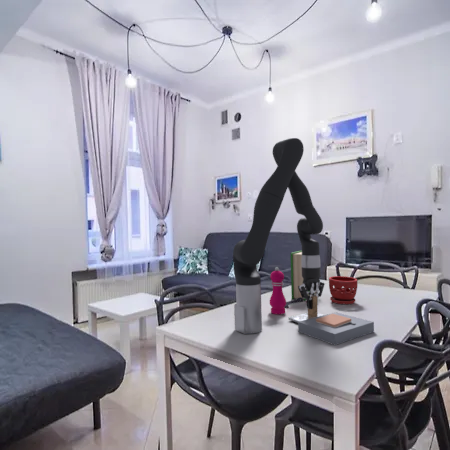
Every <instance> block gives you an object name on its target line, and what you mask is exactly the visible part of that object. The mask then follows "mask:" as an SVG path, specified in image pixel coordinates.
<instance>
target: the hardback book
mask: <svg viewBox="0 0 450 450" xmlns="http://www.w3.org/2000/svg"><path fill="white" fill-rule="evenodd" d="M301 259H302V249H301V250H298V251H294V252H293V251H292V252H290V284H291V285H290V287H291V288H290V289H291V292H290V293H291V300H295V299H297V298H299V297H301V298H302V296H301V293H300V291H299V289H298V286H299V285H300V286H301V285H302V284H303V277H302V264H301ZM308 292H310V291H308ZM314 294H315V293H314ZM308 295H309V294H308ZM303 302H306V299H304V298H303Z"/></svg>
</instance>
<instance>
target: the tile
mask: <svg viewBox="0 0 450 450" xmlns="http://www.w3.org/2000/svg"><path fill="white" fill-rule="evenodd" d="M329 314H330V315H327V314H326V315H327V316H324V317H321V318H318V319H316V322H318V323H321V324H324V325H327V326H331V327H334V328H335V327H338V326H341V325H343V324H346V323H349V322H351V319H350V318H347V317H343V316H339V315H336V314H331V313H329Z"/></svg>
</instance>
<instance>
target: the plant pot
mask: <svg viewBox="0 0 450 450" xmlns="http://www.w3.org/2000/svg"><path fill="white" fill-rule="evenodd" d="M328 289H329V292H330V295H331V296H330V297H329V299H330V301H331V302H332V303H335V304H338V305H345V306H346V305H353V304H355V303H356V298H355V297H356V295H357V291H358V279H357V278H355V277H351V276H339V275H337V276H335V275H334V276H330V277H329V278H328Z"/></svg>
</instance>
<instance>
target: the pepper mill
mask: <svg viewBox="0 0 450 450" xmlns="http://www.w3.org/2000/svg"><path fill="white" fill-rule="evenodd" d="M269 278H270V280H271V286H272V293H271V296H270V298H269V306H271V308H270V313H271V314H273V315H284V314H285V313H286V308H284V307H285V305H286V302H287V300H286V298H285V297H286V296H285V295H284V292H283V286H284V282H283V281H284V279H285V274H284V273H283V272H282V271H281V270H280V269H279V267H278V266H276V267H275V268H274V271H272V272H271V273H270V276H269Z"/></svg>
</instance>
